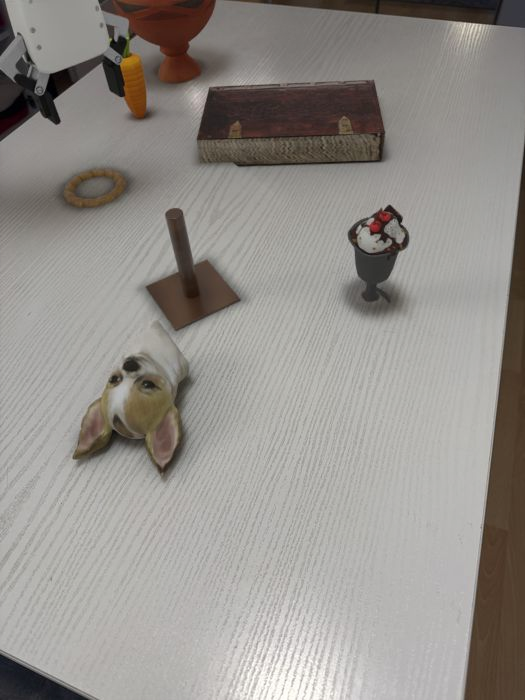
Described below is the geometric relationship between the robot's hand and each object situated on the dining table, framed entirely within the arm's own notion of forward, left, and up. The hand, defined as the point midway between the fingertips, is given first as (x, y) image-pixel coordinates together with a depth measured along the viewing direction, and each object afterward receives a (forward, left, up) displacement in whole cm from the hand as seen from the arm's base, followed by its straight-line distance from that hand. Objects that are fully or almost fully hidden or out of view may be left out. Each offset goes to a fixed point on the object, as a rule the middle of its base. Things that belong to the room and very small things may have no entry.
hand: (86, 107), depth 72 cm
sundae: (+18, -38, -15) cm, 45 cm away
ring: (-2, +5, -14) cm, 15 cm away
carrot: (+13, +22, -15) cm, 30 cm away
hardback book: (+32, +1, -15) cm, 36 cm away
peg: (0, -25, -15) cm, 30 cm away
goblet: (+27, +35, -15) cm, 47 cm away
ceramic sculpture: (-12, -38, -15) cm, 43 cm away
